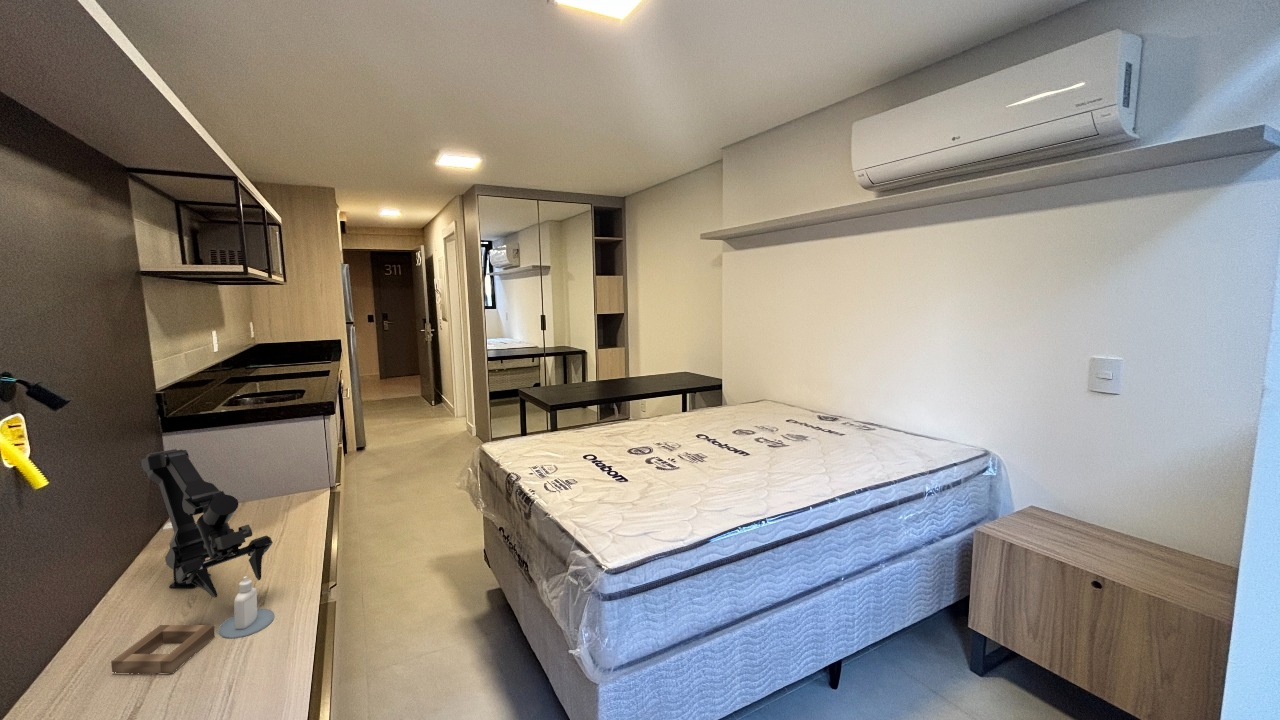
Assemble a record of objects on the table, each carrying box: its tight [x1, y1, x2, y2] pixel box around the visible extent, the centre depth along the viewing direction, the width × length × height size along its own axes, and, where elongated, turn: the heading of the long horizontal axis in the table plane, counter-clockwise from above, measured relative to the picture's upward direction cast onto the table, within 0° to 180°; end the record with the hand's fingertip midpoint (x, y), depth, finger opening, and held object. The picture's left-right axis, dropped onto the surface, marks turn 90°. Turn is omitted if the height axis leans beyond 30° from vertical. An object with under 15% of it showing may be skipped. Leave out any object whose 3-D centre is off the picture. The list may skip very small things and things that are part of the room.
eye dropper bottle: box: [233, 575, 258, 629], centre depth 125 cm, size 4×6×12 cm
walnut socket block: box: [110, 624, 216, 675], centre depth 115 cm, size 12×12×3 cm
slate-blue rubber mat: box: [217, 608, 275, 639], centre depth 126 cm, size 11×11×1 cm
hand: (238, 587), depth 127 cm, fingers open, 9 cm apart
